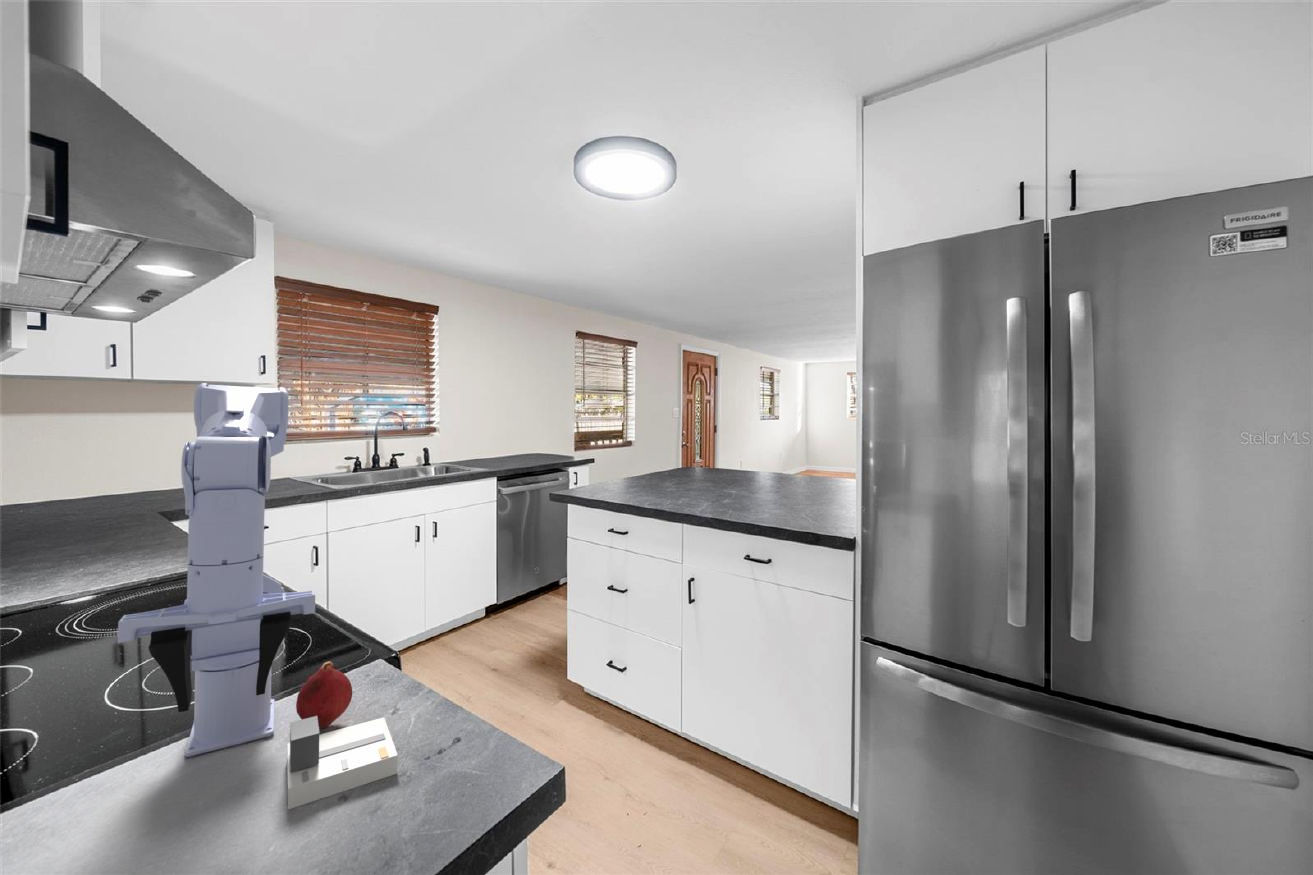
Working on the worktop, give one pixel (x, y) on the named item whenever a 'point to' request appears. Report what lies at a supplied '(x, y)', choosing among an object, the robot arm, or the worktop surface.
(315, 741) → the fader knob
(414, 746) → the worktop surface
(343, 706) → the onion
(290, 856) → the worktop surface
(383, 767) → the console
